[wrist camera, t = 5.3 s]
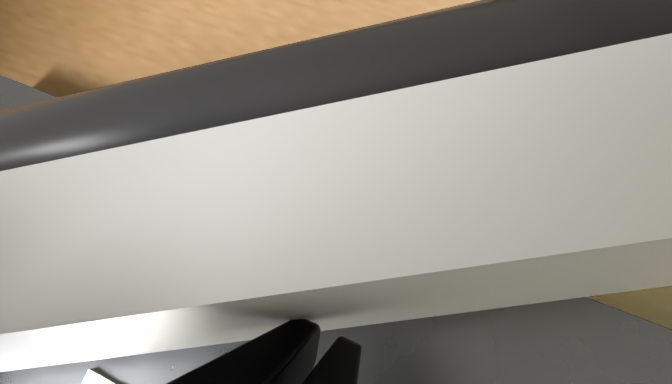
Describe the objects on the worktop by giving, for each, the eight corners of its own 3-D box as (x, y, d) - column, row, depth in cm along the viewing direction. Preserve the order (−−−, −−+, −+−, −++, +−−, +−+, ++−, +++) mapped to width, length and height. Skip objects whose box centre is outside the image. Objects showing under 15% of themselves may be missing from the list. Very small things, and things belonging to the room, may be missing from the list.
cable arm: (-142, 399, 16) (-839, 459, 7) (-124, 266, 17) (-705, 186, 9) (764, 286, 12) (1579, 118, 3) (706, 119, 13) (1185, -332, 4)
